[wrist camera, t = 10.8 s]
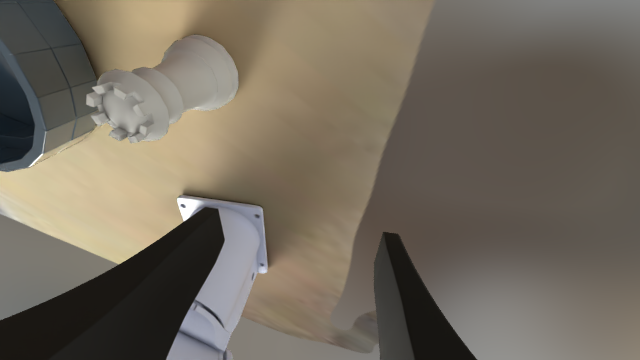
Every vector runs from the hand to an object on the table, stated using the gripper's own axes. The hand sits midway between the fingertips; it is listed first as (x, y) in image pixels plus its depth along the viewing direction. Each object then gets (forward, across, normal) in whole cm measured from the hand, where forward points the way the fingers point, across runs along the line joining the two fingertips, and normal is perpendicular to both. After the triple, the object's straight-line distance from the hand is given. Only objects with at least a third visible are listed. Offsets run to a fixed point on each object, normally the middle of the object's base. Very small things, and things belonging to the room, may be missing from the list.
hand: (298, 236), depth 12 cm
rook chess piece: (+10, +8, -4) cm, 13 cm away
